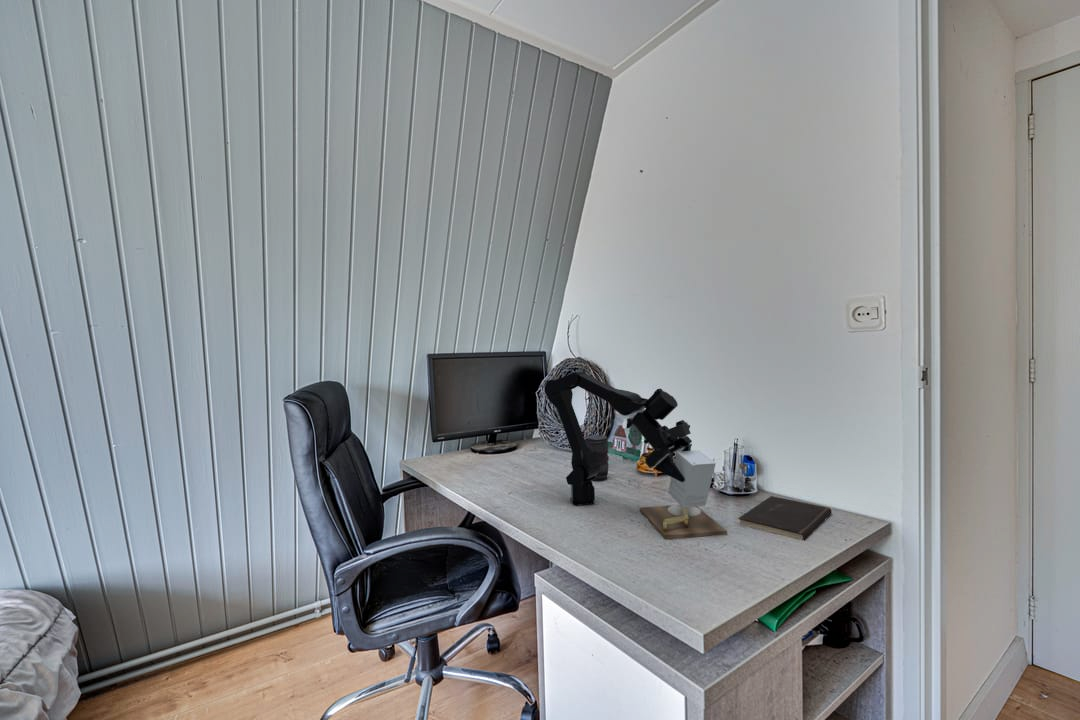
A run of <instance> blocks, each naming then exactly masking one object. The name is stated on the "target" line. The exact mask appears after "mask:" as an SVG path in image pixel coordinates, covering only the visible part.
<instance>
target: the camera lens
mask: <svg viewBox="0 0 1080 720" xmlns="http://www.w3.org/2000/svg"><path fill="white" fill-rule="evenodd" d="M584 439H585V442H586V445H587V447H588V448H589V449H590V450H591V451H592V452H593V451H596V452H597V456H598V459H599V461H600V462H601V463H600V470H599V473H598V474H597V475H596V478H595V480H592V482H603V481H606V480H607V479H608V474H609V455H608V452H609V445H608V444H609V442H608V437H607V436H606V435H602V434H596V435H595V434H594V435H587V436H586V437H584Z"/></svg>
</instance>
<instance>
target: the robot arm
mask: <svg viewBox="0 0 1080 720" xmlns="http://www.w3.org/2000/svg"><path fill="white" fill-rule="evenodd" d="M576 388H581V389H583V390H585V391H586V392H588V393H590V394H592V395H594V396H595V397H598V398H600V399H602V400H603V401H605V402H607V403H608V404H609V406H610V407H611V408H612V409H613V410H614V411H616V412H617V414H620V415H621V416H625V417H626V416H630V415H633V414H634V416H633V417H628V418H626V425H625V427H626V429H632V428H633V427H634V428H635V429H637V431H638V432H639V433H640V434H641V436H642V437H643V438H644V440H643V443H644V444H645V445H648V444H649V445H650V446H651V448H652V449H653V450H652V451H651V452H650V453H649V454H647V456H646V457H645V458H644V463H645V465H646V466H647V467H648V468H649V469H653V470H656V471H658V472H661V473H662V474H664V475H666V476H669V477H670V478H671V477H672V478H674V479H676V480H678V481H680V482H684V481H685V478H684V477H683V475H682V474H681V472H680V471H679V469H678V468H677V466H676V465H675V461H674V460H675V458H676V453H677V452H681V451H692V446H693V444H692V442H693V441H692V439H691V438H690V437H689V436H688V435H691V433H692V432H691V430H690V428H691V425H690V424H689V423H688V422H687V421H685V420H683V419H681V420H680V421H676V422H675V426H673V427H671V428H669V427H668V426H667V425H661V423H659V420H661V421H663V420H664V419H665V418H667V417H668V416H669V415H670V414H671V413H672V412H673V411H674V410H675V409H676V408H677V407H678V402H677V400H676V398H675V397H674V396H673V395H671V394H670V393H668V392H667V391H664V390H663V389H662V388H656V390H655V391H654V392H653V394H652V395H651V396H650V397H649V398H646V397H645V398H644V397H642V396H641V395H640V394H638V393H635V392H632V391H629V390H624V389H618V388H615V387H614V386H611V385H609V384H607V383H605V382H603V381H602V380H600V379H598V378H596V377H594V376H592V375H589V374H587V373H586V372H585V371H583V370H578V371H572V372H571V373H570V374H567V375H565V376H562V377H560V378H552V379H549V380H547V381H546V382H545V385H544V387H543V389H544V393H545V395H546V396H547V399H548V401H549V403H550V404H552V405H553V406H554V407H555V409H556V410H557V413H558V415H559V419H560V421H561V424H562V427H563V429H564V432H565V436H566V439H567V441H568V444H569V447H570V450H571V468H572V471H570V473H569V474H567V476H566V477H565V480H566V483H567V485H570V497H569V499H570V502H571V504H572V505H573V506H584V505H585V506H587V505H594V504H595V500H596V495H595V493H596V492H595V486H594V485H593V481H592V480H595V478H596V475H597V474H598V473H599V470H600V463H601V462H600V461H599V459H598V456H597V452H596V451H593V452H592V451H591V450H590V449H589V448H588V447H587V445H586V442H585V437H584V434H583V432H582V428H581V426H580V423H579V421H578V418H577V415H576V412H575V409H574V407H573V389H576ZM641 410H643V411H641Z"/></svg>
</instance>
